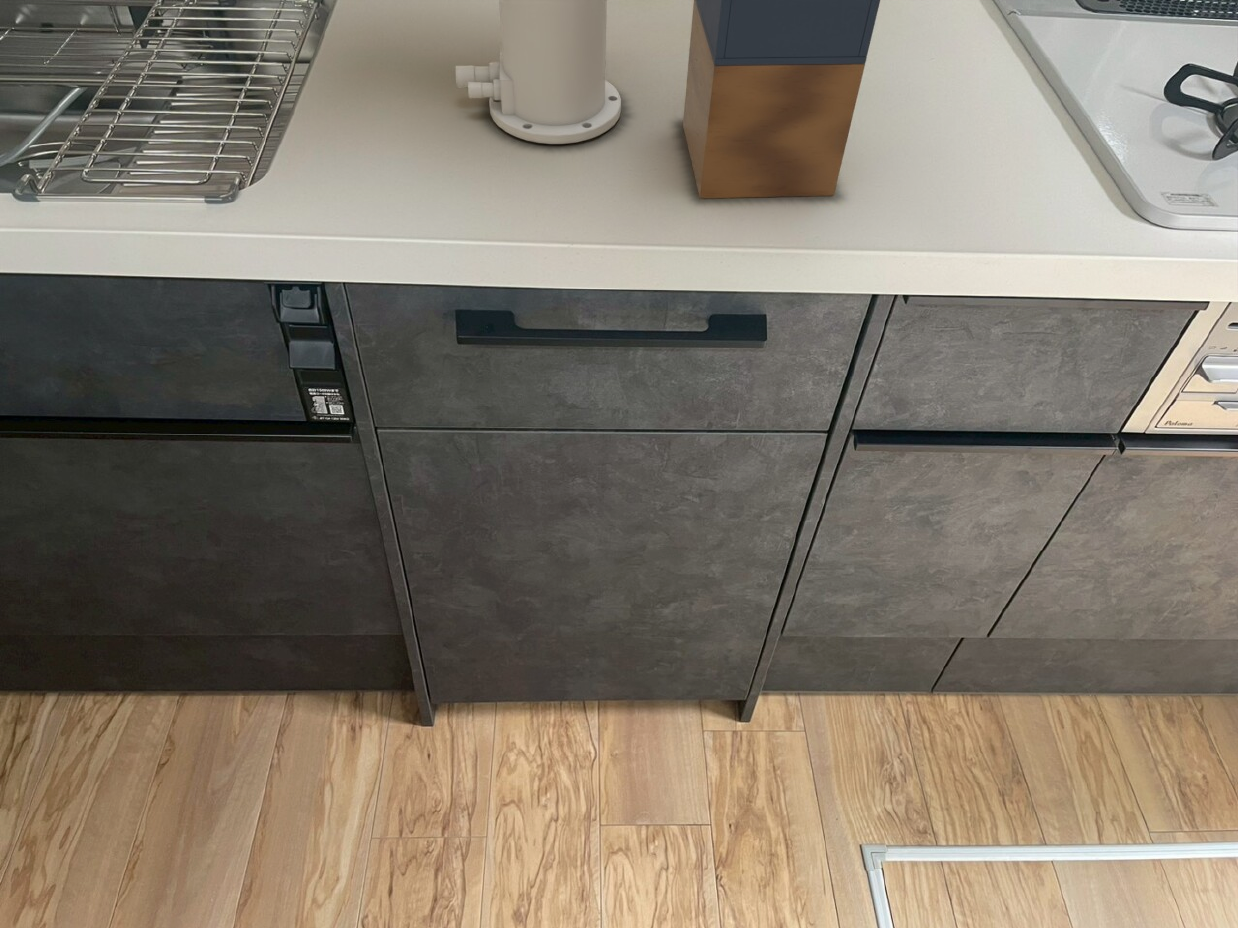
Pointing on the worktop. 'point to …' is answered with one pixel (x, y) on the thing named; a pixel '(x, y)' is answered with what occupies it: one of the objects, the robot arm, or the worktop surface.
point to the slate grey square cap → (788, 31)
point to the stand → (766, 124)
